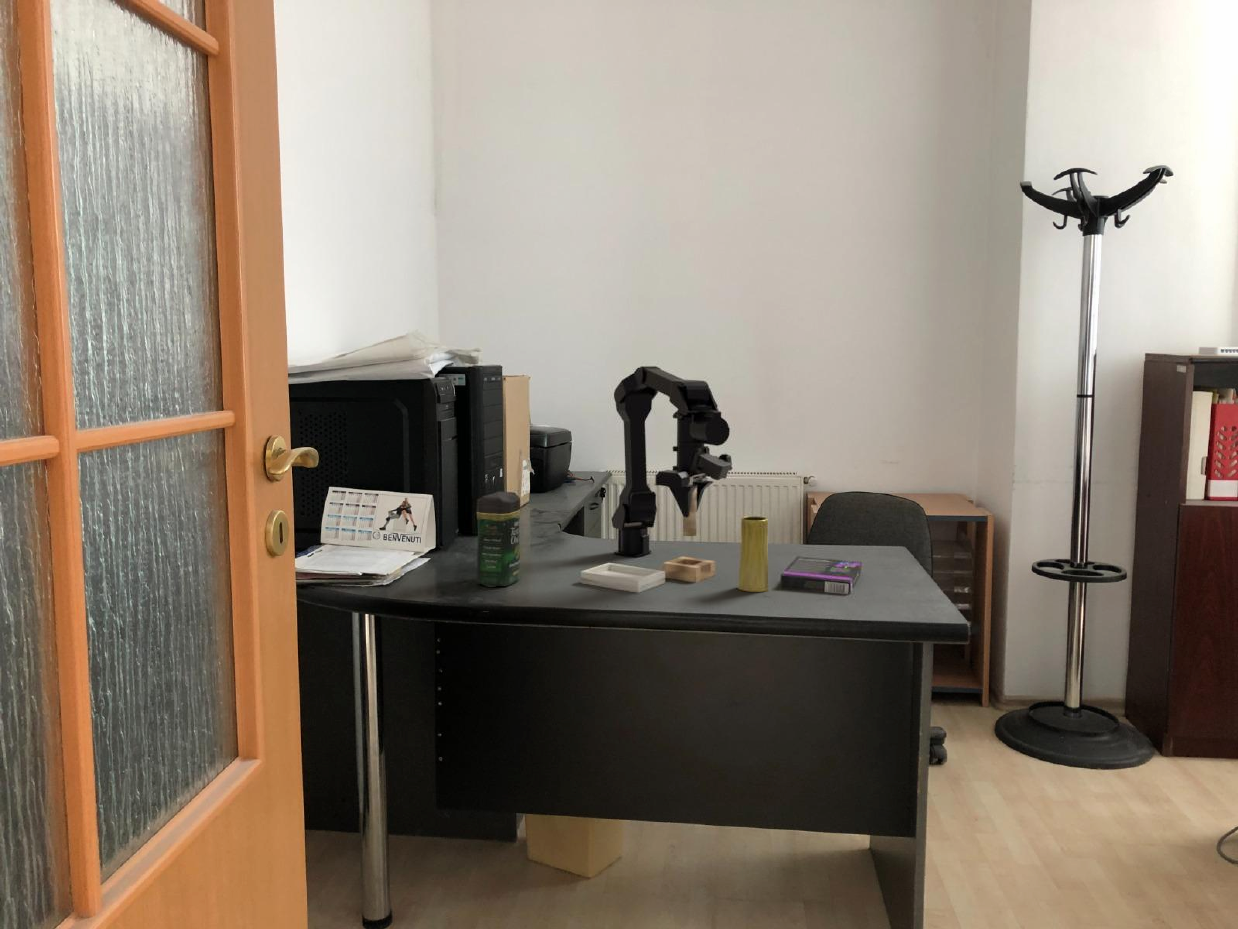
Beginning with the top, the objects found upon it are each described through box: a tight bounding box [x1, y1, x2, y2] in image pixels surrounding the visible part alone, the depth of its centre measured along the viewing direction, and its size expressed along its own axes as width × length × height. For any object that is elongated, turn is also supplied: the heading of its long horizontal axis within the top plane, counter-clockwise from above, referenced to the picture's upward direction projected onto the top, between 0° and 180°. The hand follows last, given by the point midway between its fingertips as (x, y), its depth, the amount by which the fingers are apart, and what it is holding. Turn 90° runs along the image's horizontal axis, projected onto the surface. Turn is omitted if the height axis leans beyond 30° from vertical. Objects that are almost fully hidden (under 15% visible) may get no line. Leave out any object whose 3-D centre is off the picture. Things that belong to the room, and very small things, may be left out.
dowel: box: [682, 487, 698, 537], centre depth 206 cm, size 3×3×10 cm
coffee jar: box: [476, 490, 522, 588], centre depth 201 cm, size 10×8×19 cm
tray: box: [580, 562, 666, 594], centre depth 202 cm, size 14×10×2 cm
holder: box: [662, 556, 716, 583], centre depth 208 cm, size 8×8×3 cm
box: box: [780, 555, 863, 595], centre depth 205 cm, size 14×4×20 cm
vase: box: [737, 515, 769, 593], centre depth 197 cm, size 6×6×14 cm
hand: (689, 515), depth 207 cm, fingers closed on dowel, 3 cm apart
